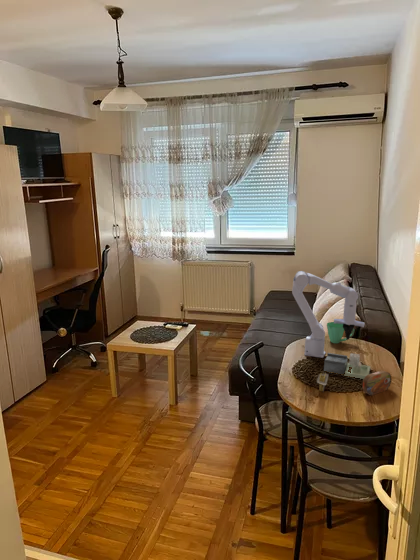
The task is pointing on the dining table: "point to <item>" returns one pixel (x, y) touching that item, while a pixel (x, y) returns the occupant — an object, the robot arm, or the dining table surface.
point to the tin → (376, 382)
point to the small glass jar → (322, 382)
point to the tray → (364, 373)
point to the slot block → (335, 363)
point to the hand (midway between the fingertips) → (347, 338)
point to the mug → (336, 332)
